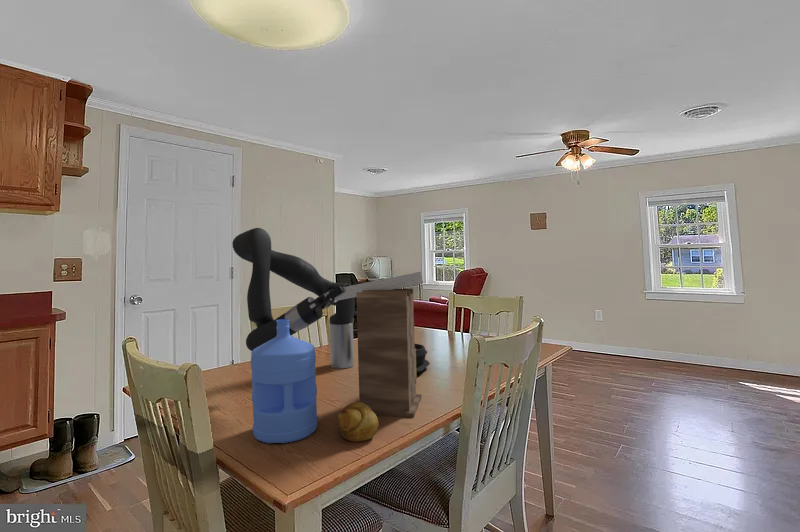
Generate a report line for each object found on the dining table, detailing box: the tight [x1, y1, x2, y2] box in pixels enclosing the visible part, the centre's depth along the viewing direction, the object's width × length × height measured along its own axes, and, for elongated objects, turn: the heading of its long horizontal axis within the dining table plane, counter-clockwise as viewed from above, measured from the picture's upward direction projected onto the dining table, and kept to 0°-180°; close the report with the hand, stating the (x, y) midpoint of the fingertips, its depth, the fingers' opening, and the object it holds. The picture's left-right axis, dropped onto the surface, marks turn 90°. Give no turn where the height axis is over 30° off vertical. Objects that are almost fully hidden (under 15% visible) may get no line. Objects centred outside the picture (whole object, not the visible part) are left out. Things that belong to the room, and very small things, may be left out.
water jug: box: [250, 319, 319, 444], centre depth 100 cm, size 16×16×28 cm
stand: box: [356, 287, 422, 418], centre depth 116 cm, size 15×17×34 cm
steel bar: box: [328, 271, 424, 302], centre depth 119 cm, size 4×28×4 cm, turn 86°
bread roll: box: [337, 401, 380, 443], centre depth 98 cm, size 13×10×8 cm
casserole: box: [414, 343, 430, 373], centre depth 154 cm, size 25×19×8 cm
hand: (346, 287), depth 120 cm, fingers open, 8 cm apart
